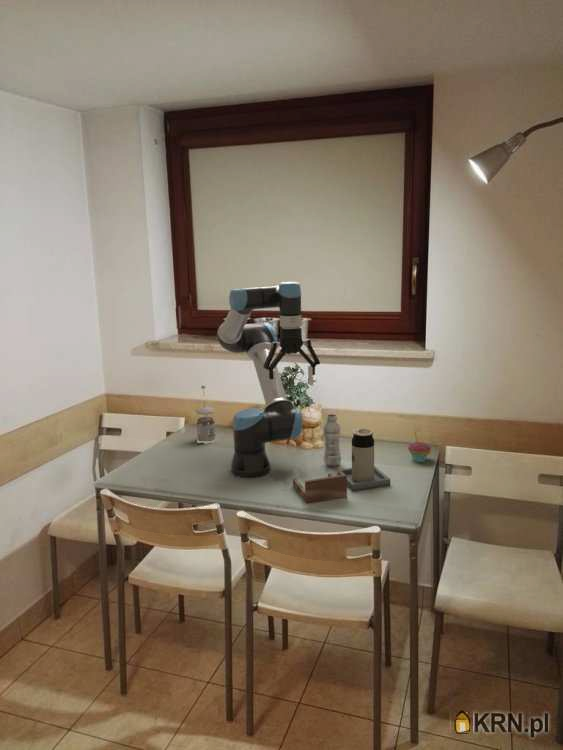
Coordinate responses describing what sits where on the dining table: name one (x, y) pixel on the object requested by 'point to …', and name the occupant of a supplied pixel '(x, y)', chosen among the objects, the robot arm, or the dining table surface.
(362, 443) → the travel mug
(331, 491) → the walnut dock
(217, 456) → the dining table surface
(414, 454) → the cupcake
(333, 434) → the metal bottle
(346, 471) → the charcoal tray
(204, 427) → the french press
